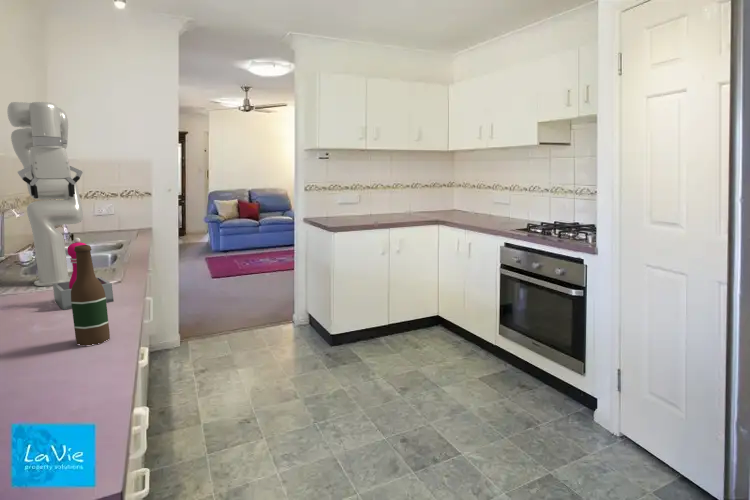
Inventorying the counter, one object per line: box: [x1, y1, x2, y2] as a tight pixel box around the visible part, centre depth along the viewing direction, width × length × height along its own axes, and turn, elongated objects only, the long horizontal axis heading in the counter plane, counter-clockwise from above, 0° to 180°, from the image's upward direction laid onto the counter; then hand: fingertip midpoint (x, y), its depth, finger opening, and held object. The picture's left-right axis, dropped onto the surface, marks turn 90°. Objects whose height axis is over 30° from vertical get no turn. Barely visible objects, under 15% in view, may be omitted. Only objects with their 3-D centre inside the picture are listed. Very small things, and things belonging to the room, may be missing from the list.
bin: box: [52, 276, 114, 311], centre depth 155 cm, size 14×14×6 cm
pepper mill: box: [66, 237, 87, 289], centre depth 154 cm, size 7×7×20 cm
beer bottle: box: [71, 244, 111, 346], centre depth 116 cm, size 8×8×24 cm
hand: (54, 197), depth 153 cm, fingers open, 9 cm apart
